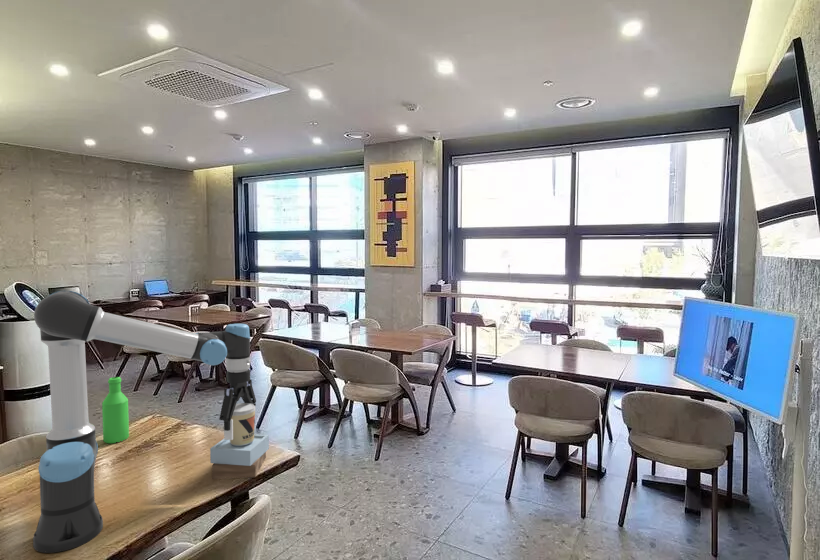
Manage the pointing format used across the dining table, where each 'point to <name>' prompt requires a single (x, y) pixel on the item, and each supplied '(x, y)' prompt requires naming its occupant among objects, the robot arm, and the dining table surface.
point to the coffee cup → (243, 424)
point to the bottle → (115, 413)
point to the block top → (239, 451)
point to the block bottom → (237, 469)
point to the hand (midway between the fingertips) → (239, 432)
